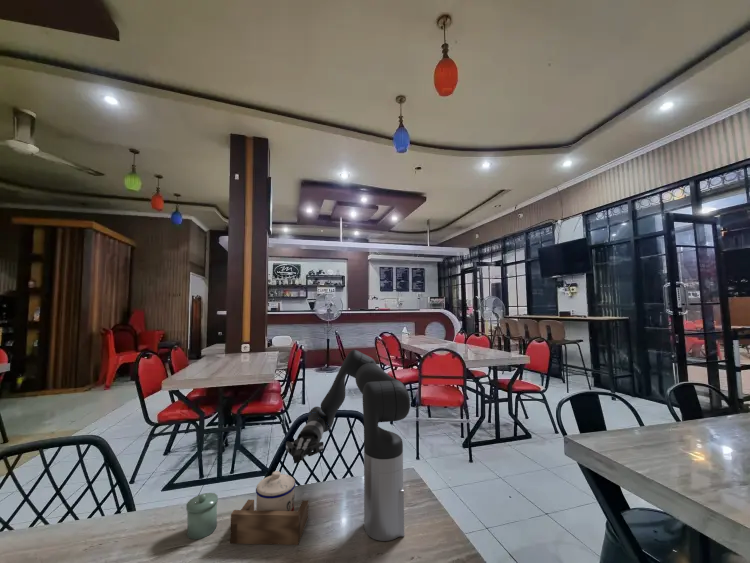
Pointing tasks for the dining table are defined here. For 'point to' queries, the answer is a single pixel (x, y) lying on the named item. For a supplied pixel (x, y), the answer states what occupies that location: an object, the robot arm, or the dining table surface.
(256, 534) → the walnut cup holder
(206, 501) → the green ceramic sugar pot
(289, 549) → the dining table surface
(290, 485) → the teacup with lid
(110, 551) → the dining table surface
